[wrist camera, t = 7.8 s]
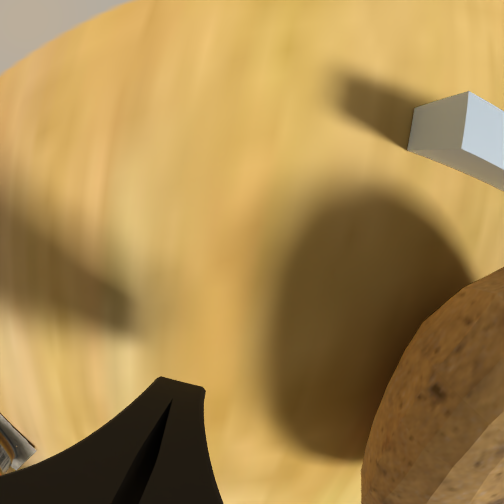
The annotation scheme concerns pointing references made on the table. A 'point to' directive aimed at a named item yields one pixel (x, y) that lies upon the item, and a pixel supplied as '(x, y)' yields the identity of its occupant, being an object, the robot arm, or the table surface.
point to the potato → (444, 408)
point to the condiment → (12, 447)
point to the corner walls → (462, 136)
